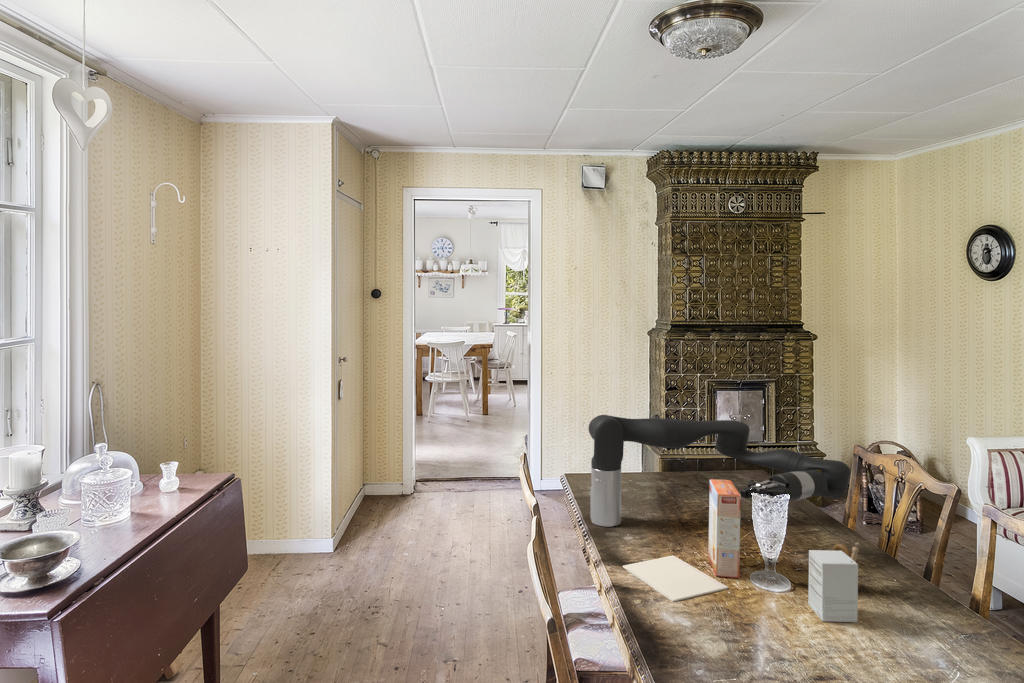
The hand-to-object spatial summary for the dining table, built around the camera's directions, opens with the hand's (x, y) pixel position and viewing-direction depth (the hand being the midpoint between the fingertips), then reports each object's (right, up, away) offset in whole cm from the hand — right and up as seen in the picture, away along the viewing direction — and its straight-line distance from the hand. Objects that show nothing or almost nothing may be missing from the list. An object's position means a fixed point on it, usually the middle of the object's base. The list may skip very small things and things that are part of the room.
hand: (742, 494), depth 152 cm
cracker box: (-6, -18, -2) cm, 19 cm away
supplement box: (+9, -19, -26) cm, 33 cm away
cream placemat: (-20, -18, -8) cm, 29 cm away
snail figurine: (+18, -19, -14) cm, 30 cm away
